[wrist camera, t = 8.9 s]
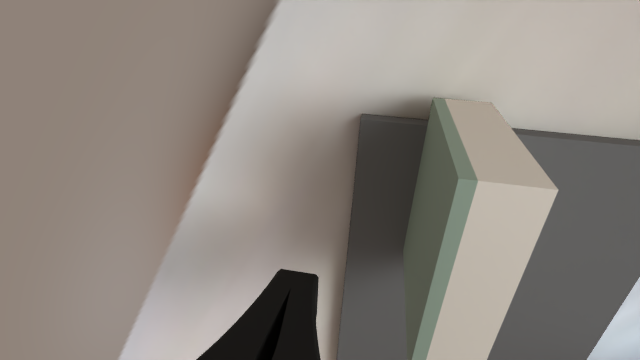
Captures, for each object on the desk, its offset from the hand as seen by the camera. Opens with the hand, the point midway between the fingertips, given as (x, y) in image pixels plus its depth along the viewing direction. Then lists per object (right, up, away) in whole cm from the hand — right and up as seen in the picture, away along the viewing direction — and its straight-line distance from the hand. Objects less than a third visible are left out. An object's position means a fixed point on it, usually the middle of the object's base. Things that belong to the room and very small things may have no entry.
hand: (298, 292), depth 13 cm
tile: (+6, +4, +2) cm, 7 cm away
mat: (+8, -3, +6) cm, 10 cm away
